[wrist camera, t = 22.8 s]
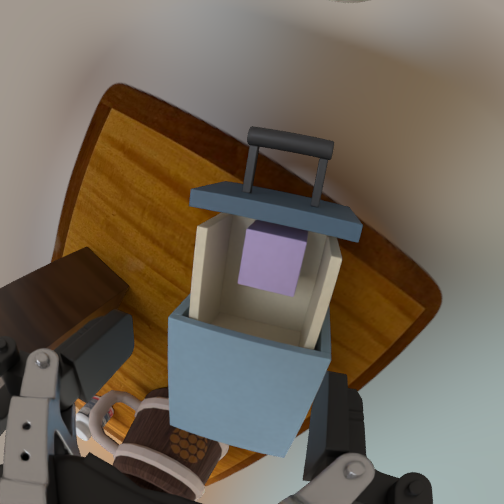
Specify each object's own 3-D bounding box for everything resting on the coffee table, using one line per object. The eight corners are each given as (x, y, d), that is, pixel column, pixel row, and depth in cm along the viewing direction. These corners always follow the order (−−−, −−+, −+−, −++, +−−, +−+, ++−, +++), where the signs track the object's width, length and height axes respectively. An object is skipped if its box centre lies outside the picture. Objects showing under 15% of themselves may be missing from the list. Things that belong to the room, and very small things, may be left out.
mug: (254, 424, 36) (226, 510, 22) (207, 454, 42) (178, 519, 28) (137, 345, 36) (71, 415, 22) (113, 391, 42) (65, 447, 28)
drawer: (233, 129, 24) (201, 116, 17) (360, 153, 23) (379, 148, 15) (208, 308, 30) (178, 350, 23) (313, 335, 29) (309, 385, 22)
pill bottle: (118, 416, 44) (95, 446, 36) (101, 411, 45) (78, 439, 37) (106, 396, 43) (80, 427, 34) (88, 392, 44) (63, 420, 36)
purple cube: (258, 217, 25) (246, 228, 21) (308, 228, 25) (307, 242, 20) (249, 264, 27) (237, 283, 23) (297, 276, 26) (293, 297, 22)
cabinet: (209, 272, 30) (167, 316, 21) (328, 301, 28) (331, 359, 19) (199, 373, 35) (169, 425, 26) (294, 398, 33) (284, 458, 24)
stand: (86, 246, 33) (-40, 309, 14) (129, 286, 33) (7, 379, 15) (73, 287, 36) (-30, 354, 17) (110, 324, 36) (13, 410, 17)
